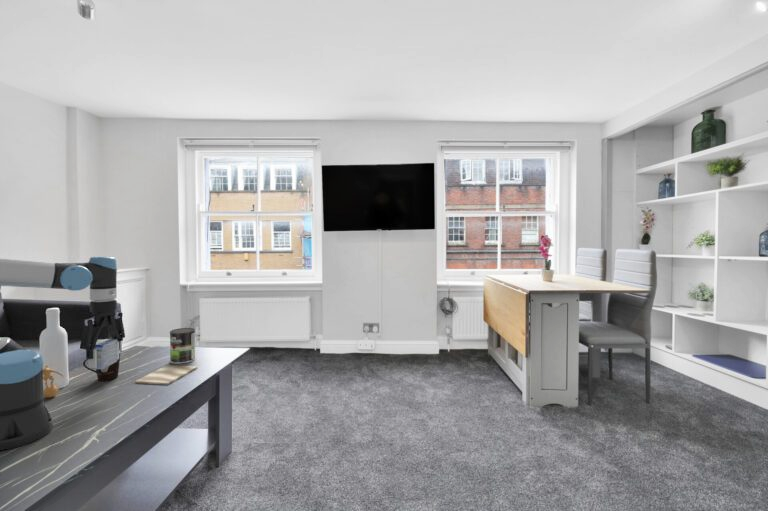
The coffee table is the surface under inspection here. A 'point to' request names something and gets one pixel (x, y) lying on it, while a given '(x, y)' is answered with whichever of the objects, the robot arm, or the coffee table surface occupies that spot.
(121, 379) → the coffee table surface
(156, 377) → the birch board
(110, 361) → the medicine box
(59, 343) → the bottle
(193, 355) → the coffee can
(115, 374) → the coffee mug
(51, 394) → the figurine
